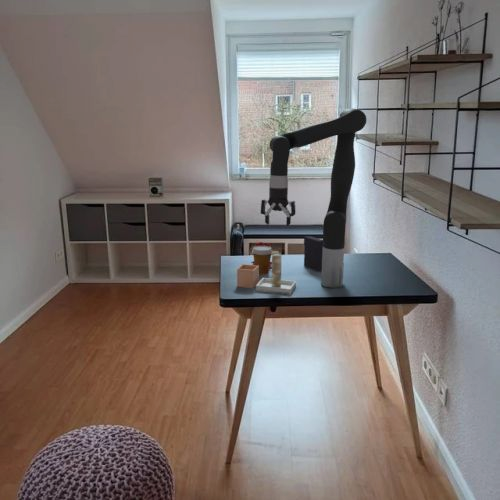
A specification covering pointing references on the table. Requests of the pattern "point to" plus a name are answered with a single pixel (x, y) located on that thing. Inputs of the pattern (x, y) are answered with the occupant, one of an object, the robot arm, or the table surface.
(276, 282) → the maple peg
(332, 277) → the robot arm
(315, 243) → the calculator
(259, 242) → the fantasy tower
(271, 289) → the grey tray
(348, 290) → the table surface
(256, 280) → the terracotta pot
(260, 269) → the disposable coffee cup
